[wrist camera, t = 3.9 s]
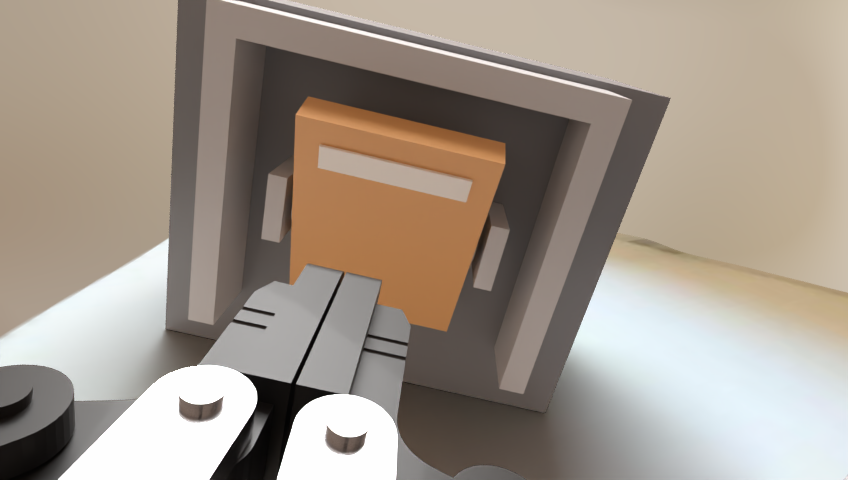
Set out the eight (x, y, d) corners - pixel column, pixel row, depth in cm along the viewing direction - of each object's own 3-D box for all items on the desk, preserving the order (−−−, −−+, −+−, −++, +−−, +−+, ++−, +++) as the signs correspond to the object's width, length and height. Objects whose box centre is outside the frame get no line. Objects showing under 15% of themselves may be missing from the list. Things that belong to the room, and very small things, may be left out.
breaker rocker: (451, 308, 27) (507, 143, 21) (448, 334, 26) (508, 167, 19) (297, 273, 27) (305, 95, 20) (285, 297, 25) (291, 115, 19)
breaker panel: (524, 322, 39) (608, 78, 32) (556, 459, 26) (705, 109, 20) (235, 256, 38) (260, -7, 32) (129, 366, 26) (131, -31, 19)
